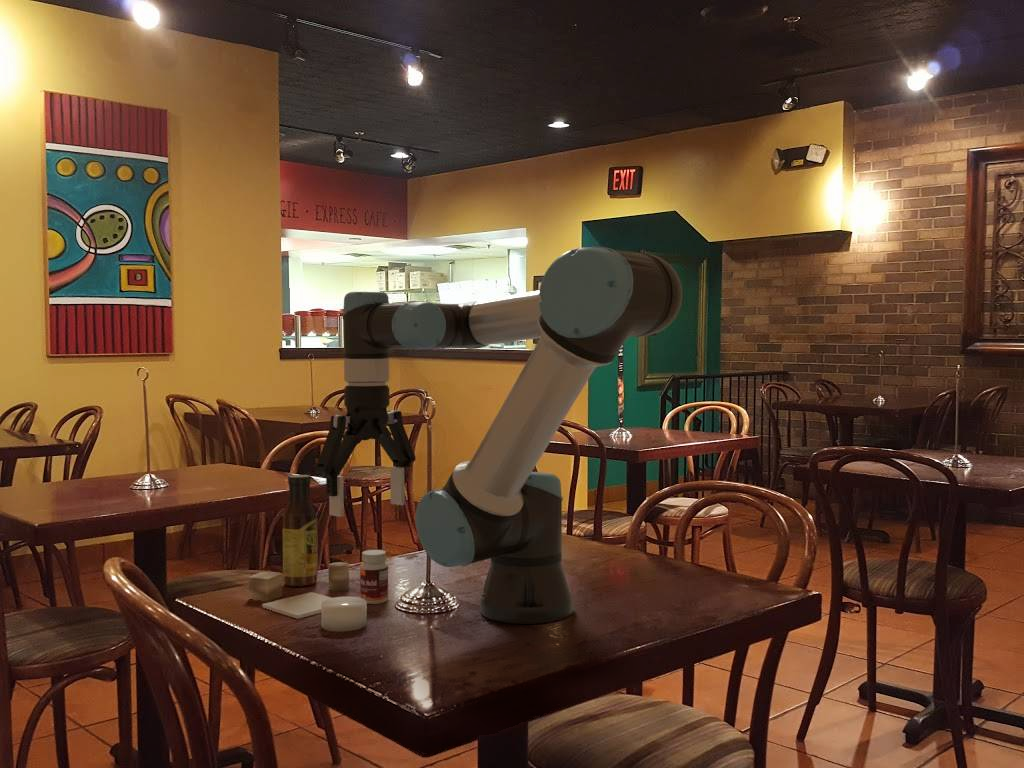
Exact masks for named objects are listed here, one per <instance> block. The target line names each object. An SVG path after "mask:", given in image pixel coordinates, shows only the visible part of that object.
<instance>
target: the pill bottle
mask: <svg viewBox="0 0 1024 768" xmlns="http://www.w3.org/2000/svg"><path fill="white" fill-rule="evenodd" d="M386 560H387V553H386V551H385V550H382V549H368V550H364V551H362V552H361V561H362V563H361V564H360V567H359V577H360V578H359V584H360V585H359V587H360V591H359V593H360V595H359V598H362V599H365V600H366V601H367V605H379V604H383V603H386V602H387V601H388V600H389V564H388V563H387V562H386Z"/></svg>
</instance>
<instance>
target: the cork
mask: <svg viewBox="0 0 1024 768" xmlns="http://www.w3.org/2000/svg"><path fill="white" fill-rule="evenodd" d="M327 566H328V567H327V568H328V591H331V592H335V593H336V592H346V591H348V590H349V589H350V564H349V563H348V562H343V561H342V562H341V561H340V562H339V561H338V562H337V561H336V562H332V563H329V564H328V565H327Z"/></svg>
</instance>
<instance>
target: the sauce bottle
mask: <svg viewBox="0 0 1024 768" xmlns="http://www.w3.org/2000/svg"><path fill="white" fill-rule="evenodd" d="M311 482H312V480H311V475H310V474H294V475H288V477H287V483H288V488H289V489H288V490H289V495H288V499H289V501H288V503H287V505H286V506H285V507H284V510H283V514H282V521H283V522H282V576H283V583H284V585H286V586H288V587H306V586H310V585H314V584H316V583H317V580H318V574H319V573H318V572H319V563H318V562H319V560H318V559H319V558H318V556H319V555H318V553H319V552H318V551H319V550H318V549H319V548H318V516H317V513H316V511H315V508H314V506H313V503H312V500H311V498H312V497H311V489H310V488H311V484H312V483H311Z"/></svg>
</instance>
